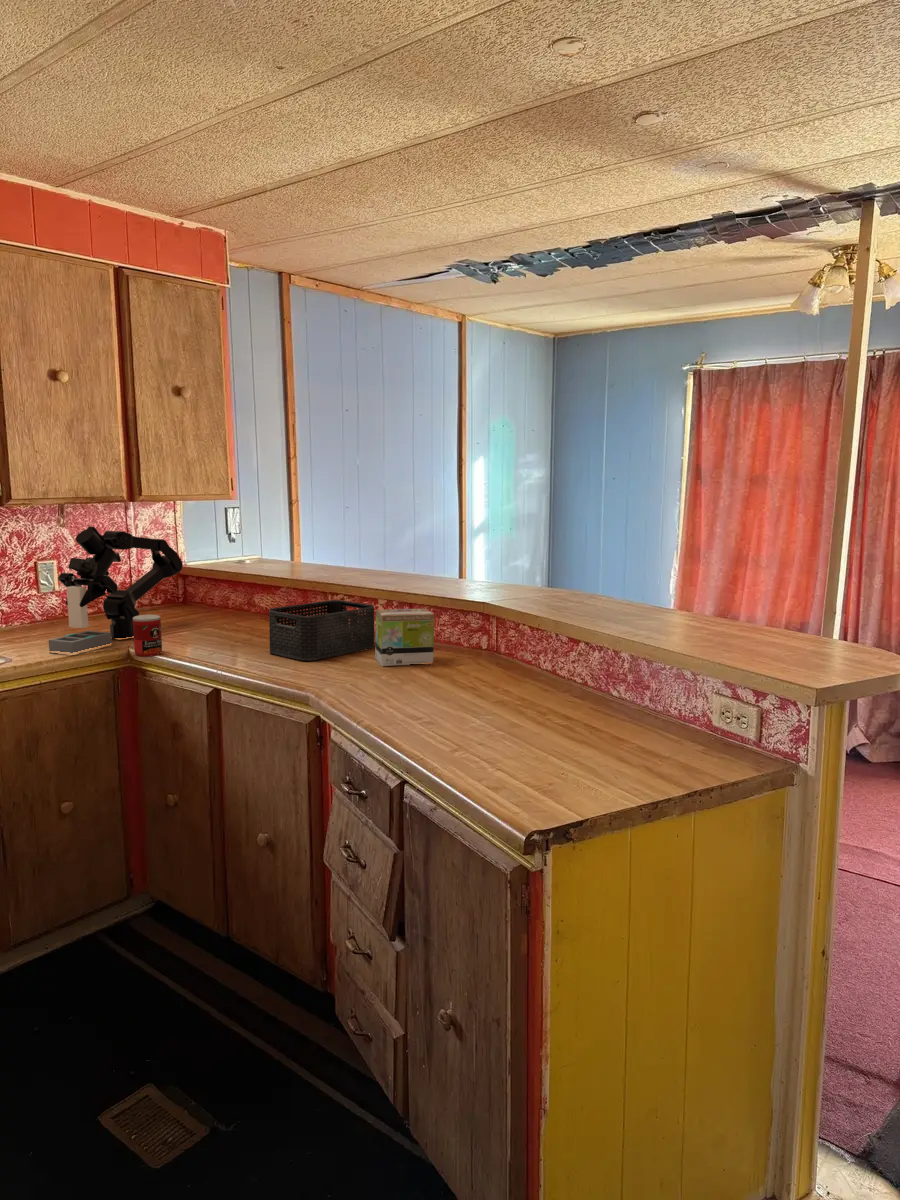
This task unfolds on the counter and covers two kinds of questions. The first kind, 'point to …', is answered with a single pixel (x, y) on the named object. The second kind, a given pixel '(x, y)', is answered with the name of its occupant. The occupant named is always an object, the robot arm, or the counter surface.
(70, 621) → the block
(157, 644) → the canned food
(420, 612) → the tea box
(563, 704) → the counter surface
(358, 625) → the storage bin
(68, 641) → the frame
